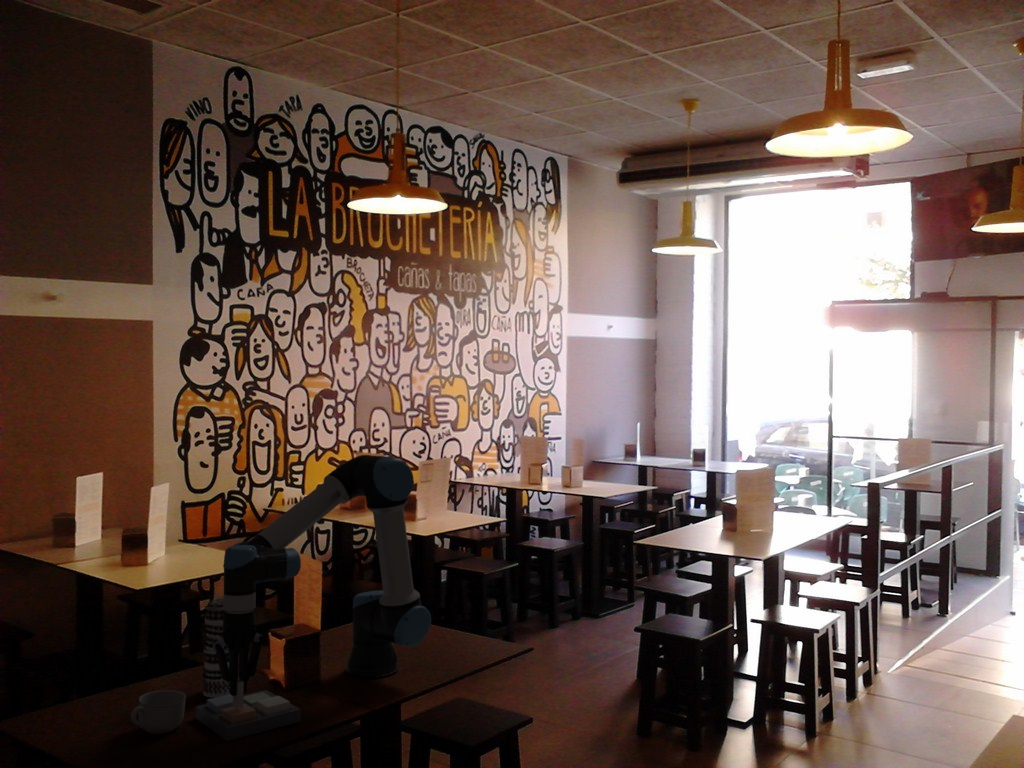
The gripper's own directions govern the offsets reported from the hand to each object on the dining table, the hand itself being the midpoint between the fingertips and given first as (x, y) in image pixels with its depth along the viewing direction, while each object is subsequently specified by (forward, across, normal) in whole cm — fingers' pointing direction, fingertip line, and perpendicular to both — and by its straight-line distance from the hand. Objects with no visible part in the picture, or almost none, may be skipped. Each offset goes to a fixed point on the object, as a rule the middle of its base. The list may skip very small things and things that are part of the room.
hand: (237, 707), depth 214 cm
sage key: (+5, -9, -9) cm, 14 cm away
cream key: (+4, -9, 0) cm, 10 cm away
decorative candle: (+6, -8, -29) cm, 31 cm away
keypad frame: (+5, -5, -4) cm, 8 cm away
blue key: (+4, 0, -9) cm, 10 cm away
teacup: (+6, +15, -12) cm, 20 cm away
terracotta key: (+4, 0, 0) cm, 4 cm away
